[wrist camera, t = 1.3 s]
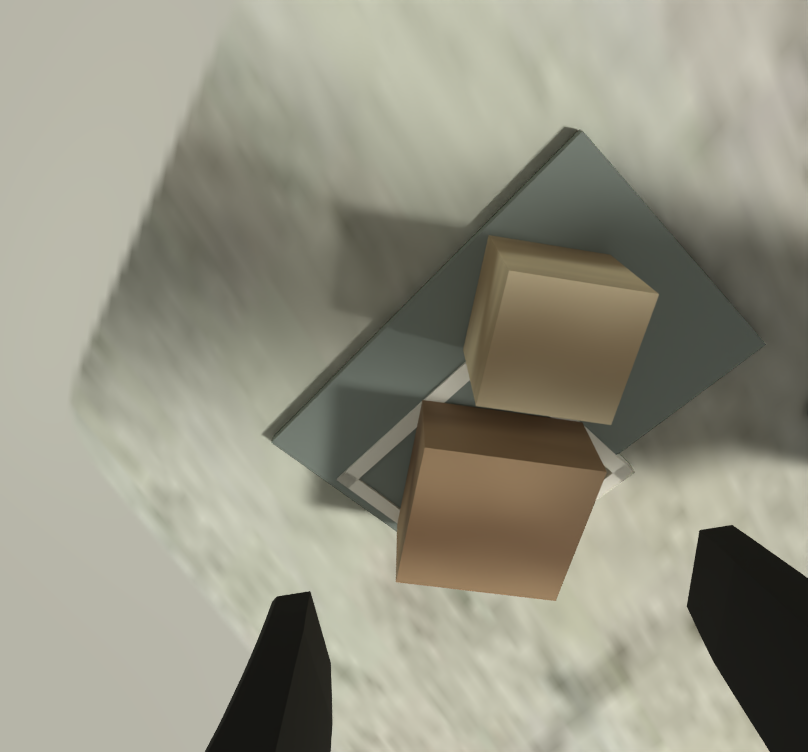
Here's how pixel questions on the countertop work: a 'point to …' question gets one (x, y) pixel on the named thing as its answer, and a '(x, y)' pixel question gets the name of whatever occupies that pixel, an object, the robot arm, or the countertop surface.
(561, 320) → the maple cube
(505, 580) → the walnut slab
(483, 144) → the countertop surface
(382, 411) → the slate mat
